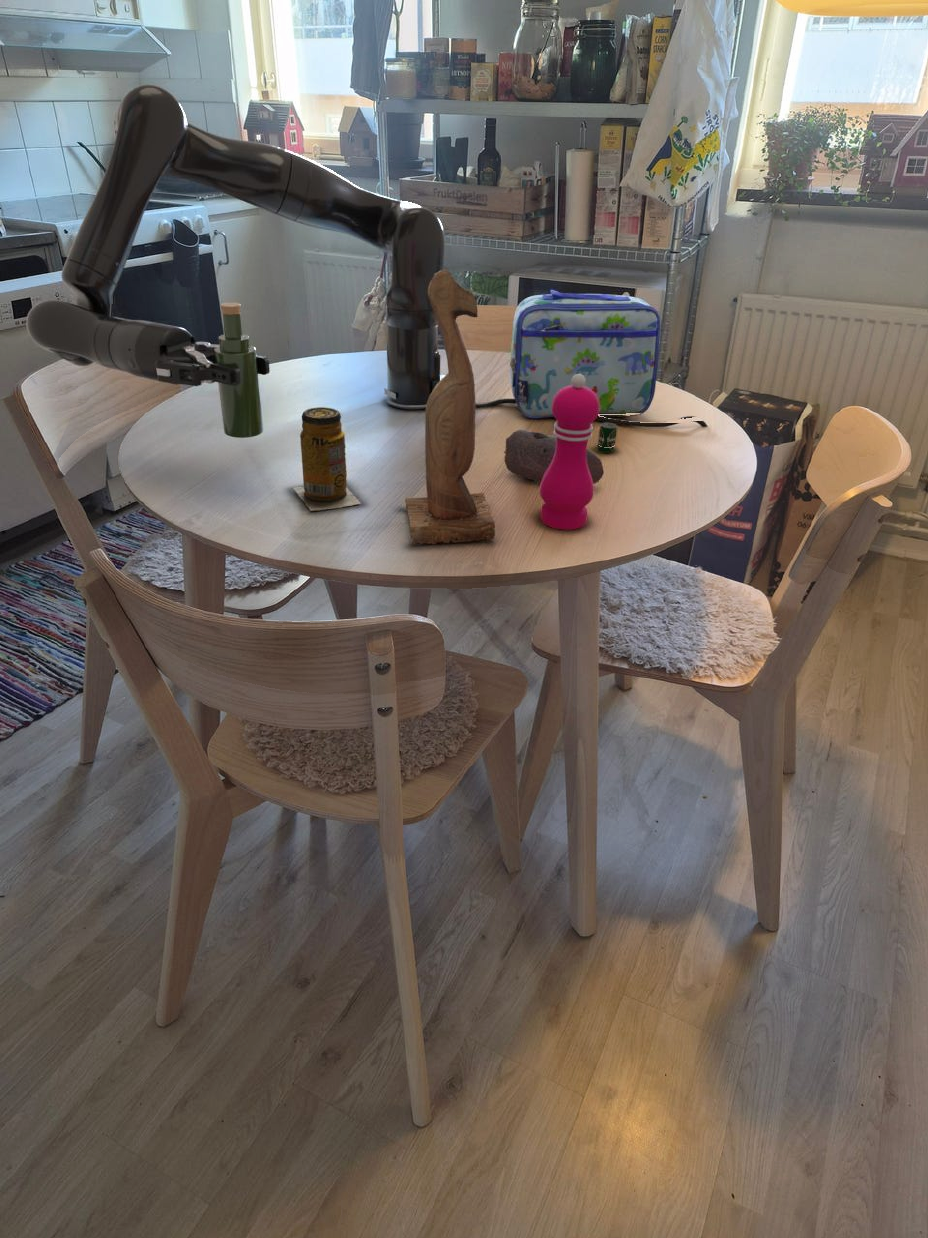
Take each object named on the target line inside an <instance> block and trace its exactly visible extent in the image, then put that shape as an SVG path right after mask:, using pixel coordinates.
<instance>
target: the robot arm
mask: <svg viewBox="0 0 928 1238" xmlns="http://www.w3.org/2000/svg"><path fill="white" fill-rule="evenodd" d="M112 130H113V131H112V132H113V136H114V144H113V149H112V152H111V155H110V158H109V161H108V164H107V167H106V170H105V173H104V176H103V178H102V181H101V183H100V185H99V187H98V189H97V192H96V194H95V195H94V197H93V200H92V202H91V204H90V206H89V208H88V210H87V211H86V213H85V216H84V218H83V220H82V222H81V224H80V226H79V228H78V230H77V233H76V235H75V237H74V240H73V243H72V245H71V247H70V250H69V252H68V253H67V254H68V255H67V258H66V260H65V261H64V265H63V266H62V267H63V268H62V271H61V280H62V282H63V284H64V285H65V286H66V287H67V288H69V290H70V291H71V292H72V294H73V295H74V297H75V304H74V303H71V302H68V301H64V300H61V299H46V300H45V299H44V300H42V301H39V302H38V303H36V304H35V305H33V306H32V307H31V308H30V310H29V311H28V313H27V315H26V322H25V324H26V331H27V333H28V335H29V337H30V338H31V340H32V341H33V343H34V344H36V345H37V346H38V347H40V348H41V349H43V350H45V351H47V352H49V353H50V354H52V355H55V356H56V357H59V358H60V359H63V360H65V361H67V362H69V363H70V364H73V365H75V366H78V367H88V366H91V365H92V364H94V363H95V364H96V365H99V366H102V367H104V368H107V369H112V370H115V371H116V370H117V371H120V372H125V373H128V374H130V375H132V376H135V377H139V378H144V379H148V380H152V381H157V382H161V383H166V384H171V385H174V386H175V385H176V386H177V385H184V386H185V385H186V386H193V387H199V386H201V385H202V382H203V383H206V384H213V383H223V384H228V385H232V386H237V385H240V384H241V378H240V371H239V369H238V368H237V367H232V366H227V365H222V364H217V363H216V360H215V352H214V349H215V348H216V347H218V346H219V344H214V343H213V344H211V343H210V342H208V341H197V340H196V339H195V337H194V336H193V335H192V334H191V332H190V331H188V330H187V329H185V328H184V327H181V326H175V325H170V324H163V323H159V322H156V321H155V322H154V321H149V320H145V319H144V320H142V319H130V318H129V319H128V318H123V317H118V316H112V308H113V307H112V306H113V296H114V293H115V291H116V288H117V286H118V283H119V281H120V279H121V276H122V274H123V271H124V269H125V266H126V265H127V262H128V260H129V256H130V253H131V250H132V248H133V245H134V242H135V239H136V236H137V234H138V230H139V228H140V225H141V222H142V220H143V216H144V214H145V212H146V208H147V206H148V204H149V202H150V201H151V200H150V199H151V198H152V195H153V193H154V191H155V189H156V188H157V185H158V183H159V181H160V180H161V177H162V176H163V175H168V176H172V177H177V178H180V179H182V180H187V181H190V182H194V183H197V184H201V185H203V186H204V185H205V186H207V187H209V188H212V189H215V190H217V191H219V192H221V193H224V194H226V195H228V196H230V197H232V198H235V199H237V200H239V201H241V202H244V203H246V204H249V205H252V206H255V207H257V208H259V209H262V210H264V211H266V212H268V213H271V214H273V215H276V216H279V217H281V218H284V219H287V220H289V221H292V222H295V223H298V224H301V225H304V226H308V227H312V228H315V229H320V230H326V231H331V232H336V233H342V234H346V235H349V236H351V237H354V238H356V239H358V240H360V241H363V242H364V243H366V244H369V245H370V246H372V247H375V248H376V249H379V250H380V251H382V252H384V253H385V254H387V255H389V256H390V257H391V281H390V285H389V286H387V288H386V290H385V291H386V292H385V321H386V322H385V325H386V326H385V327H386V328H385V329H386V382H387V383H386V384H387V387H386V388H383V389H384V393H383V394H384V395H386V402H387V404H388V405H389V406H391V407H394V408H398V409H402V410H426V405H427V402H428V399H429V397H430V395H431V393H432V391H433V390H434V388H435V386H436V385H437V384H438V383H439V382H440V380H441V379H442V378H444V376H445V375H446V374H441V353H440V352H439V350H438V349H439V326H438V323H437V319H436V316H435V313H434V310H433V307H432V305H431V303H430V300H429V298H428V288H429V284H430V281H431V280H432V278H433V277H434V275H435V273H437V272H439V271H442V270H445V254H446V253H445V250H446V249H445V245H446V238H445V231H444V227H443V223H442V221H441V219H440V218H439V216H438V215H437V214H436V213H435V212H434V211H432V210H430V209H429V208H427V207H424V206H421V205H418V204H416V203H412V202H408V201H402V200H398V199H394V198H390V197H387V196H384V195H380V194H378V193H374V192H371V191H368V190H366V189H363V188H360V187H359V186H357V185H355V184H353V183H352V182H350V181H349V180H348V179H346V178H344V177H343V176H341V175H339V174H337V173H336V172H334V171H333V170H331V169H329V168H327V167H325V166H323V165H321V164H320V163H317V162H316V161H314V160H311V159H309V158H306V157H305V156H302V155H299V154H298V153H294V152H293V151H290V150H287V149H285V148H281V147H278V146H275V145H273V144H267V143H263V142H256V141H250V140H243V139H235V138H230V137H224V136H220V135H217V134H214V133H211V132H209V131H207V130H205V129H202V128H200V127H198V126H195V125H193V124H192V123H189V122H188V121H187V118H186V114H185V112H184V110H183V107H182V106H181V104H180V103H179V100H177V98H176V97H175V96H174V95H173V94H172V93H171V92H170V91H168V90H167V89H165V88H163V87H161V86H158V85H155V84H141V85H138V86H135V87H133V88H132V89H129V91H127V92H126V94H125V95H124V96H123V97H122V99H121V101H120V102H119V104H118V107H117V110H116V112H115V115H114V119H113V124H112ZM256 356H257V367H258V375H262V376H266V375H269V374H270V360H269V358H268V357H267V356H264V355H263V356H262V355H258V354H256ZM475 404H476V407H475V409H478V408H479V409H480V408H481V409H482V408H489V407H495V406H498V405H505V404H512V405H513V404H514V405H517V404H516V400H515V398H499V399H495V400H492V401H489V402H485V403H476V402H475ZM692 417H696V416H694V415H687V416H682V417H680V418H681V419H682V418H684V419H686V418H692ZM594 421H599V422H602V423H605V422H609V423H614V424H616V425H621V426H629V427H642V428H665V427H666V428H667V427H671V426H675V425H678V424H680V423H640V422H629V421H621V420H614V419H608V418H604V417H599V416H597V418H596V419H595V420H594ZM692 422H694V423H697V424H698V425H699V426H701V427H703V428H708V427H709V426H708V425H707V423H706V422H705V421H704V420H703V421H692Z"/></svg>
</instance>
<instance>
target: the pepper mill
mask: <svg viewBox="0 0 928 1238" xmlns="http://www.w3.org/2000/svg"><path fill="white" fill-rule="evenodd" d="M585 381H586V380H585V377H584V376H583V375H581V374H576V375H574V376H573V377H572V380H571V383H572V385H571V386H567V387H564V388H562V389H561V390H559V391H558V393H557V394H556V395H555V397H554V399H553V403H552V412H553V415H554V417H553V418H555V420H556V421H555V422H554V424H553V428H554V430H553V436H555V437H556V450H555V454H554V457H553V459H552V461H551V463H550V465H549V467H548V469H547V470H546V472H545V474H544V476H543V478H542V481H540V485H539V495H540V498H541V499H542V501H543V502H544V503H543V504H542V506H541V511H540V520H541V521H542V523H543V524H544V525H546V526H548V527H550V528H553V529H557V530H565V531H567V530H569V531H570V530H576V529H580V528H582V527H584V526H585V525H586V523H587V520H588V507H586V506H587V505H589V504H590V503H591V501H593V498H594V489H595V487H594V484H593V480H592V477H591V474H590V471H589V468H588V465H587V459H586V449H588V442H589V440H590V439H591V438H592V437H593V430H594V426H593V425H592V424H593V422H594V421H596V420H595V419H596V418H597V416H598V414H599V400H598V397H597V395H596V394H595V393H594V392H593V391H592V390H591V389H589V388H587V387H585V386H584V385H585Z"/></svg>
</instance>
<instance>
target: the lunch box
mask: <svg viewBox="0 0 928 1238" xmlns="http://www.w3.org/2000/svg"><path fill="white" fill-rule="evenodd" d="M549 291H550V292H549V293H550V294H545V293H543V294H538V295H531V296H529V297H526V298H524V299H523V300H522V301H521V302H520V303H518V305H517V307H516V309H515V312H514V317H513V322H512V330H511V331H512V333H511V341H510V342H511V343H510V363H509V366H510V387H511V388H510V389H511V392H512V396H513V399H515V400H516V404H515V405H516V406H517V408H518V409H519V411H520V412H521V413H522V414H523V415H524V416H525V417H527V418H529V419H543V418H555V417H554V415H553V412H552V403H553V399H554V397H555V395H556V394H557V393H558V391H559V390H561V389H562V388H564V387H567V386H571V385H572V383H571V380H572V377H573V376H574V375H576V374H581V375H583V376H584V377H585V380H586V381H585V385H584V386H585V387H587V388H589V389H591V390H592V391H593V392H594V393H595V394H596V395H597V397H598V400H599V414H626V413H642V414H644V413H645V412H647V411H648V409H649V408H650V406H651V404H652V402H653V400H654V397H655V392H656V385H657V375H658V366H659V365H658V363H659V352H660V351H659V350H660V343H661V342H660V341H661V331H662V329H661V327H662V326H661V316H660V314H659V311H658V310H657V309H656V308H655V307H652V306H651V305H650V304H649V303H648V302H646V301H645V300H643V299H641V298H638V297H635V296H628V295H619V294H607V293H606V294H605V293H604V294H603V293H566V292H565V293H563V292H559V291H558V290H554V289H550V290H549ZM600 416H604V417H609V418H612V417H614V418H615V417H618V418H622V417H624V416H623V415H600ZM635 416H637V415H630V416H629V417H635Z"/></svg>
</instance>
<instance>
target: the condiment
mask: <svg viewBox="0 0 928 1238" xmlns="http://www.w3.org/2000/svg"><path fill="white" fill-rule="evenodd" d="M301 421H302V422H301V428H302V430H301V432H300V434H299V438H300V453H301V466H302V481H303V486H297V487H293V490H294V491H295V493H296V495H298V497H299V498H300V499H301V501H302V502H303V503H304V504H305V506H306V508H308V509H309V511H310V512H311V511H325V510H332V509H342V508H343V507H350V506H354V505H360V504H361V502H360V500H359V499H358V498H357V496H355V495H354V494H353V493H352V491H350V489H349V488H348V487H347V486H348V485H347V481H348V479H347V477H348V476H347V461H346V460H347V458H346V437H345V436H346V435H345V432H344V430H343V429H342V428H343V427H342V414H341V412H339V410H337V409H335V408H331V407H327V406H326V407H324V406H323V407H322V406H320V407H310V408H308V409H306V410H304V411H303V412H302V414H301Z"/></svg>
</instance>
